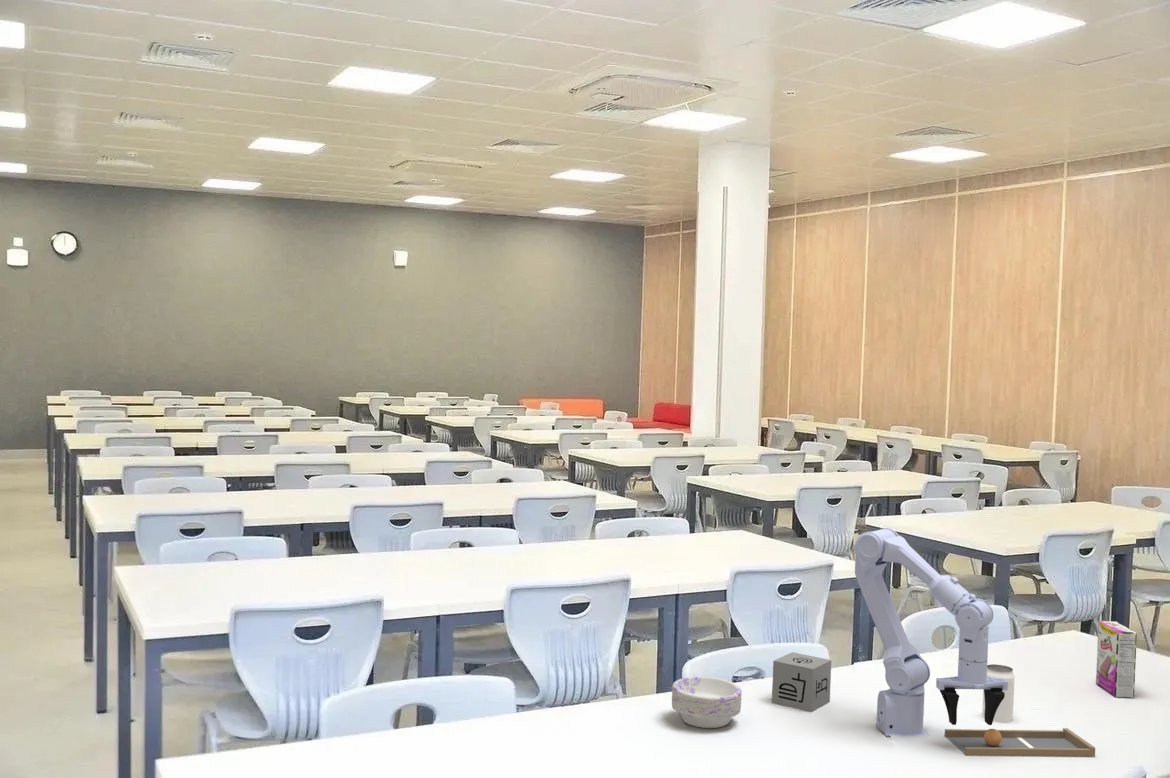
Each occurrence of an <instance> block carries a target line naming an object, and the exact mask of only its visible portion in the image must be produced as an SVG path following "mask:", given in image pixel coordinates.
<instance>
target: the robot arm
mask: <svg viewBox="0 0 1170 778" xmlns="http://www.w3.org/2000/svg"><path fill="white" fill-rule="evenodd" d="M852 547H853V548H852V549H853V552H854V555H855V560H854V562H855V563H854V575H855V578H856V581H857V583H858V585H859V589H860V590H861V591H860V592H861V594H862V596H863V598H864V600H865V604H866V606H867V608H868V610H869V613H870V616H871V619H872V621H873V623H874V626H875V629H876V631H877V634H878V635H879V638H880V641H881V643H882V646H883V649H884V650H885V652H884V656H883V658H882V659H883V661H882V663H883V666H884V668H885V670H884V672H885V674H884V675H885V681H886V684H887V685H888V687H889V688H888V689H885V690H883V689H882V690H879V692H878V695H877V699H876V701H877V703H876V704H877V705H876V722H875V723H874V725H875V726H877V728H878V729H879V730H880V731H881V733H883V734H884V735H885V736H886V737H891V736H930V734H929V732H928V731H926V730H925V729H924V717H925V716H924V715H925V714H924V711H925V685H926V683H928V681H929V680H930V676H931V669H930V666H929V664H928V662H927V661H926V660H925V659H923V657H922V656H921V654H920V652H919V650H918V648H916V646H914V645H913V644H911V643H910V642H909V639H908V636H907V634H906V631H905V629H904V626H903V624H902V622H901V619H900V617H899V613H898V612H897V609H896V607H895V604H894V601H893V600H892V596H891V595H890V592H889V590H888V587H887V585H886V583H885V579H884V577H883V572H884V570H885V568H886V566H887V564H888V563H896V564H900V565H901V566H903V568H905V569H906V570H907V571H909V572H910V573H911V574H912V575H913V576H915V577H917V578H918V579H919V580H921V582H922V583H925V584H926V585H927V586H928V587H929V594H930V596H931V597H932V598H933V599H935V600H936V601H937V602H938V603H939V604H940V605H941V606H942V607H943V608H944V609H946V611H948V612H949V613H950V614H951V615H953V616H954V620H955V622H956V624H957V626H958V627H959V635H958V636H959V637H958V638H959V640H958V659H957V661H958V662H957V663H958V665H957V676H949V677H936V679H935V681H936V682H935V683H936V685H935V688H936V689H938V691H939V692H940V694H941V696H942V699H943V701H944V703H945V704H944V705H945V709H946V711H947V716H948V717H947V718H948V722H949V724H950V725H952V726H956V725H957V721H958V703H959V699H960V695H959V694H958V693H957V691H956V690H983V689H984V696H985V718H984V723H985V724H987V725H988V726H992V725H993V723H994V722H993V719H994V716H995V713H996V711H997V709H998V707H999V705H1000V703H1001V702H1002V700H1003V699H1004V696H1005V693H1004V692H1002V690H1004V691H1007V690H1008V681H1006V680H1005V679H997V678H987V665H988V657H989V656H988V653H989V625H990V624H992V622H993V619H994V611H993V608H992V606H991V605H990V604H989V603H988V602H987V600H986V599H982V598H977V596H976V595H975V594H974V593H970V592H969V591H968V590H966V589H965V588H964V587H963V586H962V585H961V584H960V583H959V579H958V578H957V577H956V576H952V577H951V576H950V575H949V574H944V575H943V574H942V575H941V574H939V572H938V571H936V569H934V568H933V567H932V566H931V565H930V564H929V563H928V562H927V561H926V560H925V559H924V558H923V557H922V556H921V555H920V554H918V553H917V551H916V550H915V549H914V548H913V547H911V546H910V545H909V543H908V542H907V540H906V539H905V538H904V537H903V536H901V535H899V534H898V533H897V531H896V530H894V529H892V528H888V527H884V528H880V529H878V530H873V531H866V532H861V534H859V536H858V537H857V539H856V541H855V543H854V544H853V546H852Z"/></svg>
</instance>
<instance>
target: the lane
mask: <svg viewBox="0 0 1170 778" xmlns="http://www.w3.org/2000/svg"><path fill="white" fill-rule="evenodd" d="M987 730H988V729H971V728H970V729H967V728H966V729H960V728H959V729H955V728H949V729H947V728H945V729H944V737H945V738H946V739H947V740H948V741H949V742H950V743H952V744H953V745H954V746H955V747H956V748H957V749H958V750H959V751H960V752H962V754H964V756H967V757H968V756H969V757H970V756H971V757H975V756H976V757H977V756H978V757H1044V758H1045V757H1056V758H1057V757H1063V758H1064V757H1065V758H1067V757H1068V758H1076V757H1077V758H1095V757H1096V747H1095V746H1093V745H1092V744H1091V743H1089V742H1088V741H1086V739H1084V738H1082V737H1081V736H1079V735H1078V734H1076V733H1075V732H1074V731H1072V730H1071V729H1069V728H1067V727H1065V728H1062V730H1059V729H1057V730H1053V729H1052V730H1051V729H1048V730H1047V729H1046V730H1045V729H1044V730H1041V729H1039V730H1038V729H1035V730H1033V729H1026V730H1025V729H996V730H997V731H999V732H1000V734H1001V736H1002V740H1001V743H1000V744H999V745H997V746H990V745H988V744H987V743H986V742H985V740H984V734H985V732H986V731H987Z"/></svg>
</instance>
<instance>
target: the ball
mask: <svg viewBox="0 0 1170 778" xmlns="http://www.w3.org/2000/svg"><path fill="white" fill-rule="evenodd" d="M986 730H987V731H986V732H985V734H984V740H985V742H986V743H987V744H988V745H990V746H997V745H999V744H1000V743H1001V740H1002V736H1001V734H1000V732H999V731H997V730H998V729H996V728H989V729H986Z"/></svg>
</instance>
